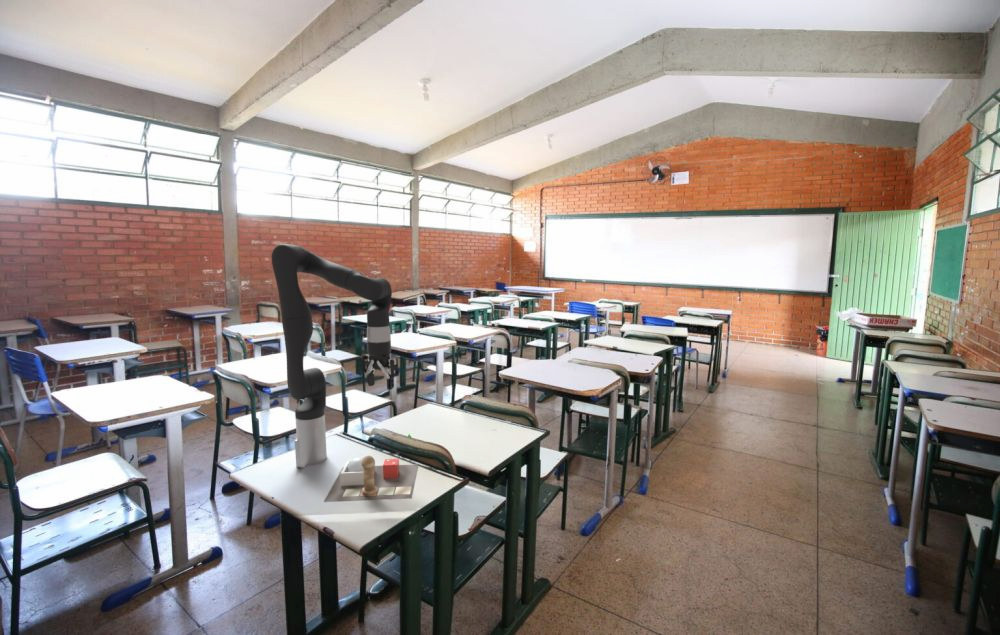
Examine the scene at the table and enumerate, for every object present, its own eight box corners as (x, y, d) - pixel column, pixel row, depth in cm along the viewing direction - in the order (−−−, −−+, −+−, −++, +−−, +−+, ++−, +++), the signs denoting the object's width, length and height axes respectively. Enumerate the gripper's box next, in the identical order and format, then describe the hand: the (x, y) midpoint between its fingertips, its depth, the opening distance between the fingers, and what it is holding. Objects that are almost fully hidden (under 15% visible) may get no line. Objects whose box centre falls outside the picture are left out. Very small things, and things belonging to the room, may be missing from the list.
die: (383, 478, 148) (382, 465, 148) (385, 472, 153) (385, 458, 152) (397, 477, 149) (397, 464, 148) (399, 471, 153) (398, 458, 152)
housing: (341, 485, 144) (340, 473, 143) (347, 472, 152) (347, 460, 152) (370, 484, 144) (369, 472, 144) (375, 471, 153) (375, 459, 152)
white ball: (345, 482, 145) (344, 463, 144) (350, 472, 151) (349, 454, 150) (366, 481, 145) (366, 462, 144) (370, 472, 152) (370, 453, 151)
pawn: (361, 495, 137) (359, 459, 136) (363, 488, 142) (361, 453, 140) (375, 494, 138) (373, 458, 137) (377, 487, 142) (376, 452, 141)
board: (323, 506, 135) (323, 501, 134) (343, 471, 156) (342, 466, 156) (411, 502, 137) (411, 497, 136) (418, 468, 158) (418, 464, 158)
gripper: (403, 339, 153) (404, 387, 155) (371, 335, 160) (373, 381, 162) (386, 343, 146) (388, 393, 149) (354, 339, 154) (356, 387, 156)
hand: (380, 387), depth 155 cm, fingers open, 8 cm apart
